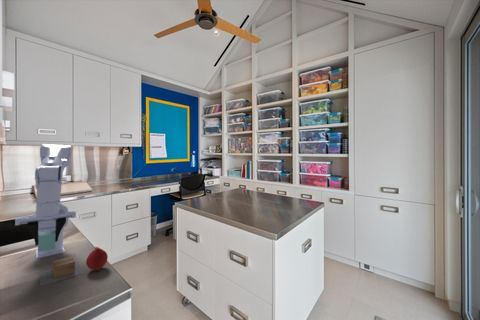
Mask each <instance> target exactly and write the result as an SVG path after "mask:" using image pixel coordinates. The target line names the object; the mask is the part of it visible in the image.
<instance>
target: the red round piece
mask: <svg viewBox="0 0 480 320" xmlns="http://www.w3.org/2000/svg"><path fill="white" fill-rule="evenodd" d="M108 258H109V257H108V253H107V251H105V250H104V249H103V248H100V247H99V246H95V247H94V249H93V250H92V251H91V252H90V253H89V254H88V255H87V257H86V261H85V263H86V266H87V268H88V269H90V270H93V271H94V272H96V271H99V270H100V269H102V268H103V267H104V266H105V265H106V263H107V262H108Z"/></svg>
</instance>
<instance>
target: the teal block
mask: <svg viewBox="0 0 480 320" xmlns="http://www.w3.org/2000/svg"><path fill="white" fill-rule="evenodd" d="M55 235H56V233H55V230H53V231H47V232H40V233H39V235H38V245H37V249H38V252H40V251H45V250H50V249H55Z"/></svg>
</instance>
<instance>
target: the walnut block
mask: <svg viewBox="0 0 480 320" xmlns="http://www.w3.org/2000/svg"><path fill="white" fill-rule="evenodd" d="M75 263H76V260H75V258H74V256H73V255H72V256H69V257H63V258H60V259H56V260H53V261H52V269H53V277H54V278H57V277H60V276H64V275H67V274H71V273H74V272H75Z"/></svg>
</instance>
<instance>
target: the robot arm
mask: <svg viewBox="0 0 480 320" xmlns="http://www.w3.org/2000/svg"><path fill="white" fill-rule="evenodd" d="M39 156H40V157H39V158H40V163H41V164H39V165H40V166H39V167H36V168H35V171H34V180H35V189H36V201H35V203H36V204H35V213H34V214H33V215H28V216H21V217H15V220H14V222H15V223H14V226H20V225H26V224H27V226H26V227H27V228H28V230H29V231H30V233H31V235H32V238H33V239H34V243H35V244H34V245H35V246H38V235H39V233H40V232H47V231H53V230H55V233H56V235H55V249H50V250H45V251H40V252H38V248H37V249H35V258H36V259H40V258H45V257H49V256H53V255H58V254H63V253H66V250H65V248H64V228H66V227H68V225H69V219H73V218H77V216H76V215H77V212H76V211H75V210H73V211H69V208H68V207H67V206H66V205H64V204H62V203H61V196H62V186H63V185H62V181H63V174H64V170H65V168H68V167H69V166H71V162H72V146H71V145H70V144H67V145H66V144H65V145H64V144H50V143H42V144H41V145H40V146H39Z"/></svg>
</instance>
